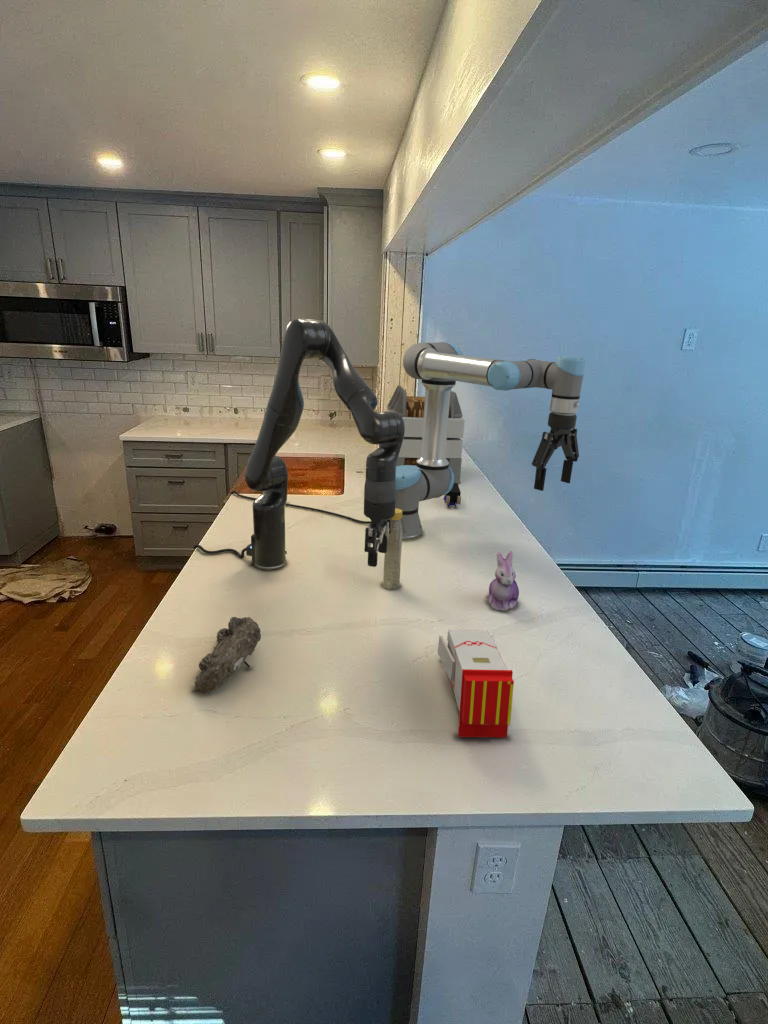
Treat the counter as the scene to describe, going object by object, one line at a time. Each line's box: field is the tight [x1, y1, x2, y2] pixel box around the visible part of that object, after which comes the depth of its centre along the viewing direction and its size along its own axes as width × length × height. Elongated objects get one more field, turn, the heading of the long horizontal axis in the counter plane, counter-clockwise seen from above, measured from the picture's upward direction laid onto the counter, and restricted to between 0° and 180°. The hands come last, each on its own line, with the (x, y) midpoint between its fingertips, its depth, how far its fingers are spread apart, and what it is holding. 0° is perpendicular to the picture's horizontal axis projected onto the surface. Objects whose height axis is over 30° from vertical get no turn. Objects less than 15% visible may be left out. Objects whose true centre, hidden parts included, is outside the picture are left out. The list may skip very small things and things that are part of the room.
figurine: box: [487, 550, 520, 612], centre depth 153 cm, size 9×10×15 cm
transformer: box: [386, 384, 465, 484], centre depth 268 cm, size 34×33×41 cm
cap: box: [391, 508, 402, 520], centre depth 155 cm, size 4×4×2 cm
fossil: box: [194, 616, 262, 693], centre depth 122 cm, size 22×10×15 cm
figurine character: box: [442, 483, 462, 509], centre depth 232 cm, size 7×8×15 cm
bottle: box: [382, 519, 403, 590], centre depth 159 cm, size 5×5×22 cm
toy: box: [437, 628, 515, 738], centre depth 117 cm, size 12×13×30 cm
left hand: (377, 558), depth 139 cm, fingers open, 8 cm apart
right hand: (552, 485), depth 166 cm, fingers open, 13 cm apart
